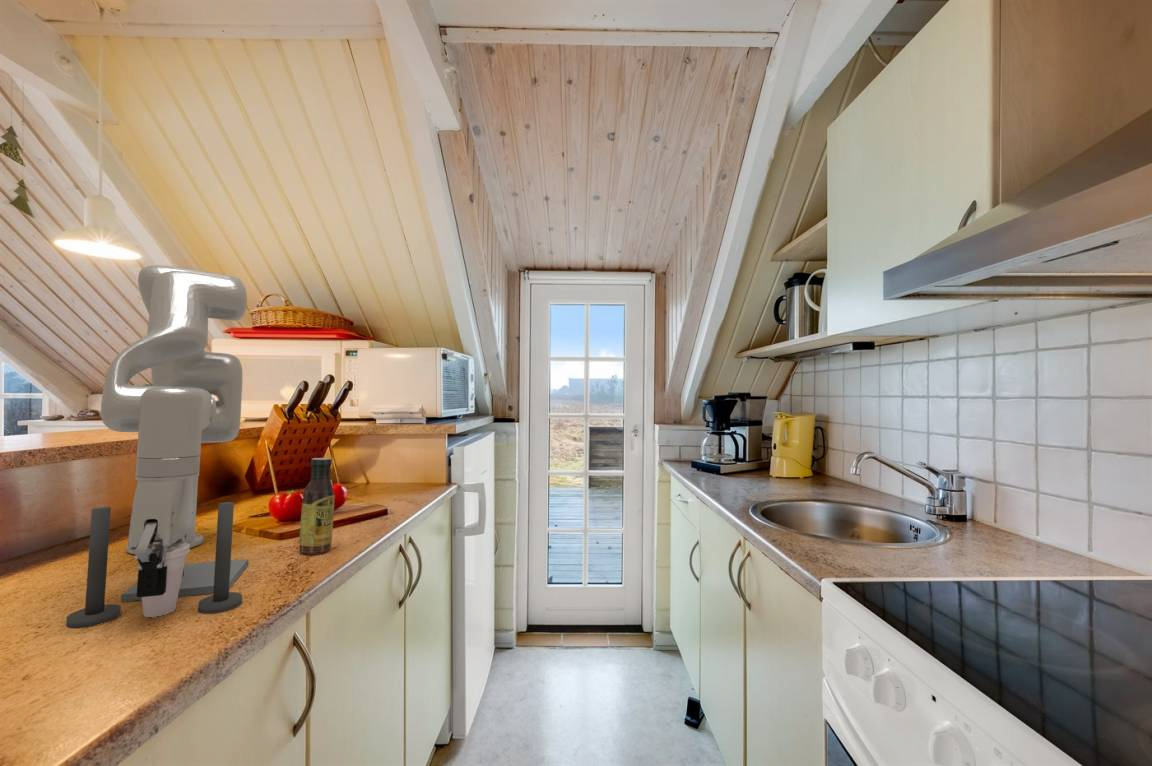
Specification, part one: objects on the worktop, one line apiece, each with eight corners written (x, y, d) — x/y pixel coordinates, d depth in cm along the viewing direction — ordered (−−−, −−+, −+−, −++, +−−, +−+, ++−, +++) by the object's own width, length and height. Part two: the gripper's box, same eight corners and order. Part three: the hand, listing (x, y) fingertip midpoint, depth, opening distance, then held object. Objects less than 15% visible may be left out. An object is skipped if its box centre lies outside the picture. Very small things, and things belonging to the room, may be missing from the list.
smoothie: (122, 624, 69) (128, 526, 70) (141, 606, 75) (147, 515, 76) (178, 617, 72) (183, 522, 72) (192, 600, 78) (197, 512, 78)
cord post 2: (205, 600, 78) (210, 500, 78) (246, 596, 80) (251, 499, 81) (192, 615, 73) (198, 508, 73) (236, 610, 75) (242, 506, 75)
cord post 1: (80, 613, 72) (87, 505, 73) (127, 608, 74) (134, 503, 75) (56, 630, 67) (64, 513, 68) (108, 624, 69) (115, 511, 70)
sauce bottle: (317, 557, 100) (322, 460, 101) (291, 554, 102) (296, 459, 102) (338, 548, 107) (343, 457, 108) (314, 545, 108) (318, 456, 109)
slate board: (159, 572, 89) (159, 565, 89) (248, 565, 95) (248, 558, 95) (120, 602, 76) (121, 594, 76) (226, 591, 82) (227, 584, 82)
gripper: (162, 461, 81) (155, 570, 80) (107, 477, 65) (98, 614, 64) (216, 460, 84) (210, 566, 83) (176, 475, 68) (168, 606, 67)
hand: (161, 585), depth 74 cm, fingers closed on smoothie, 6 cm apart
